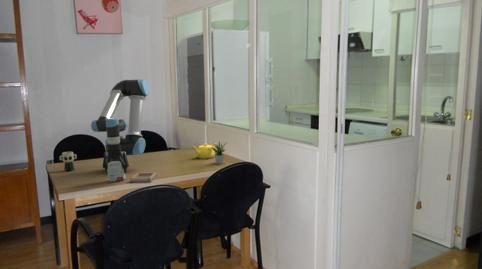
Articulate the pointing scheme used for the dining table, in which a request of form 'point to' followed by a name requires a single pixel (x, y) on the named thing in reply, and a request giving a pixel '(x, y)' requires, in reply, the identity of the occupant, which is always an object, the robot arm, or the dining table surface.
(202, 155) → the teapot
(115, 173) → the ink box
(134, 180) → the holder
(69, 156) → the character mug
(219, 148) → the house plant
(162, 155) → the dining table surface
